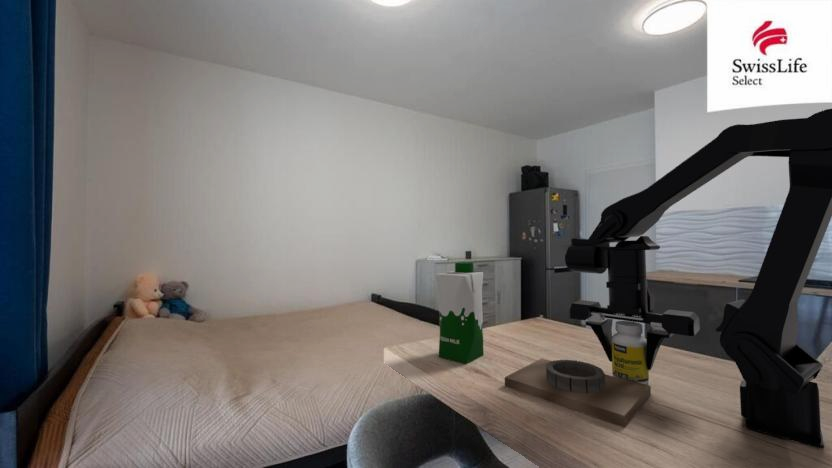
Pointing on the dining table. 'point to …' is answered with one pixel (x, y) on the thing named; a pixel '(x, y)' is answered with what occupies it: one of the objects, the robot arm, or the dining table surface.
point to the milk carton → (460, 313)
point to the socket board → (585, 403)
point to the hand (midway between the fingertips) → (629, 365)
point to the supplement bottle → (629, 352)
